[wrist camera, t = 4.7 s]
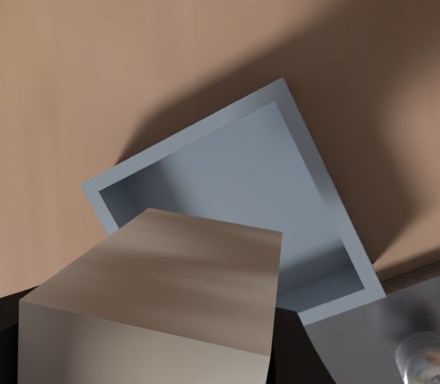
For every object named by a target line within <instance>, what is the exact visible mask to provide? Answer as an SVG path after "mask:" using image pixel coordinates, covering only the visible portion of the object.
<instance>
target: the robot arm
mask: <svg viewBox="0 0 440 384" xmlns="http://www.w3.org/2000/svg"><path fill="white" fill-rule="evenodd" d="M39 286H40V285H39ZM37 287H38V286H36V287H33V288H30V289H27V290H24V291H21V292H18V293H15V294H12V295H9V296H5V297H2V298H0V384H18V336H19V300H20V299H22V298H23V297H24V296H26V295H27V294H29V293H30V292H31V291H33V290H34V289H36V288H37ZM266 384H336V382H335V381H334V379H333V378H332V376H331V374H330V373H329V371H328V370H327V368H326V366H325V365H324V363H323V361H322V359H321V358H320V356H319V354H318V353H317V351H316V349H315V347H314V345H313V344H312V342H311V340H310V338H309V336H308V334H307V332H306V330H305V328H304V326H303V323H302V321H301V319H300V316H299V315H298V313H297V312H296V311H293V310H288V309H283V308H278V307H275V315H274V325H273V336H272V346H271V356H270V362H269V367H268V373H267V378H266Z"/></svg>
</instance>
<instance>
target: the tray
mask: <svg viewBox="0 0 440 384" xmlns="http://www.w3.org/2000/svg"><path fill="white" fill-rule="evenodd" d="M80 186H81V188H82V190H83V192H84V193H85V195H86V197H87V199H88V200H89V202H90V204H91V206H92V208H93V209H94V211H95V213H96V215H97V216H98V218H99V220H100V222H101V224H102V225H103V227H104V229H105V231H106V232H107V234H108V236H110V235H111V234H113V233H114V232H116V231H117V230H118V229H120V228H121V227H123V226H124V225H125V224H127V223H128V222H130V221H131V220H132V219H134V218H135V217H137V216H138V215H139V214H141V213H142V212H144V211H145V210H146V209H148V208H153V209H159V210H164V211H170V212H175V213H181V214H186V215H192V216H197V217H203V218H208V219H214V220H220V221H225V222H231V223H236V224H242V225H247V226H253V227H258V228H264V229H269V230H275V231H280V232H283V233H282V243H281V253H280V264H279V274H278V284H277V295H276V305H275V307H278V308H283V309H288V310H293V311H296V312H297V313H298V315H299V316H300V319H301V321H302V323H303V326H305V325H308V324H311V323H314V322H316V321H319V320H322V319H325V318H328V317H331V316H333V315H336V314H339V313H342V312H345V311H348V310H350V309H353V308H356V307H359V306H362V305H365V304H368V303H370V302H373V301H376V300H379V299H382V298H385V297H386V295H385V292H384V290H383V288H382V285H381V283H380V281H379V279H378V276H377V274H376V272H375V270H374V267H373V265H372V263H371V261H370V259H369V257H368V255H367V252H366V250H365V248H364V246H363V244H362V242H361V240H360V238H359V235H358V233H357V231H356V229H355V227H354V225H353V223H352V221H351V219H350V216H349V214H348V212H347V210H346V208H345V206H344V204H343V202H342V200H341V197H340V195H339V193H338V191H337V189H336V187H335V185H334V183H333V180H332V178H331V176H330V174H329V172H328V170H327V168H326V166H325V164H324V161H323V159H322V157H321V155H320V153H319V151H318V149H317V147H316V145H315V142H314V140H313V138H312V136H311V134H310V132H309V130H308V128H307V125H306V123H305V121H304V119H303V117H302V115H301V113H300V111H299V109H298V106H297V104H296V102H295V100H294V98H293V96H292V94H291V92H290V90H289V87H288V85H287V83H286V81H285V79H284V78H283V77H282V78H280V79H278V80H276V81H274V82H272V83H270V84H268V85H266V86H265V87H263V88H261V89H259V90H257V91H255V92H253V93H251V94H249V95H248V96H246V97H244V98H242V99H240V100H238V101H236V102H234V103H233V104H231V105H229V106H227V107H225V108H223V109H221V110H219V111H217V112H216V113H214V114H212V115H210V116H208V117H206V118H204V119H202V120H200V121H199V122H197V123H195V124H193V125H191V126H189V127H187V128H185V129H184V130H182V131H180V132H178V133H176V134H174V135H172V136H170V137H168V138H167V139H165V140H163V141H161V142H159V143H157V144H155V145H153V146H151V147H150V148H148V149H146V150H144V151H142V152H140V153H138V154H136V155H135V156H133V157H131V158H129V159H127V160H125V161H123V162H121V163H119V164H118V165H116V166H114V167H112V168H110V169H108V170H106V171H104V172H102V173H101V174H99V175H97V176H95V177H93V178H91V179H89V180H87V181H86V182H84V183H82V184H80Z"/></svg>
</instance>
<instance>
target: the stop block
mask: <svg viewBox="0 0 440 384" xmlns="http://www.w3.org/2000/svg"><path fill="white" fill-rule="evenodd" d="M282 233H283V232H280V231H275V230H269V229H264V228H258V227H253V226H247V225H242V224H236V223H231V222H225V221H220V220H214V219H208V218H203V217H197V216H192V215H186V214H181V213H175V212H170V211H164V210H159V209H153V208H148V209H146V210H145V211H144V212H142V213H141V214H139V215H138V216H137V217H135V218H134V219H132V220H131V221H130V222H128V223H127V224H125V225H124V226H123V227H121V228H120V229H118V230H117V231H116V232H114V233H113V234H111V235H110V236H109V237H107V238H106V239H104V240H103V241H102V242H100V243H99V244H97V245H96V246H95V247H93V248H92V249H90V250H89V251H88V252H86V253H85V254H83V255H82V256H81V257H79V258H78V259H76V260H75V261H73V262H72V263H71V264H69V265H68V266H66V267H65V268H64V269H62V270H61V271H59V272H58V273H57V274H55V275H54V276H52V277H51V278H50V279H48V280H47V281H45V282H44V283H43V284H41V285H40V286H38V287H37V288H36V289H34V290H33V291H31V292H30V293H29V294H27V295H26V296H24V297H23V298H22V299H20V300H19V336H18V384H266V378H267V373H268V367H269V362H270V356H271V346H272V336H273V325H274V315H275V305H276V295H277V284H278V274H279V264H280V253H281V243H282Z"/></svg>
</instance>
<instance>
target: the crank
mask: <svg viewBox="0 0 440 384" xmlns="http://www.w3.org/2000/svg"><path fill="white" fill-rule="evenodd" d="M395 359H396V364H397V366H398V369H399V372H400V375H401V377H402V380H403V383H404V384H440V333H437V332H433V331H421V332H416V333H413V334H411V335H409V336H407V337H406V338H404V339H403V340H402V341H401V343H400V344H399V346H398V347H397V350H396V355H395Z"/></svg>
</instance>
